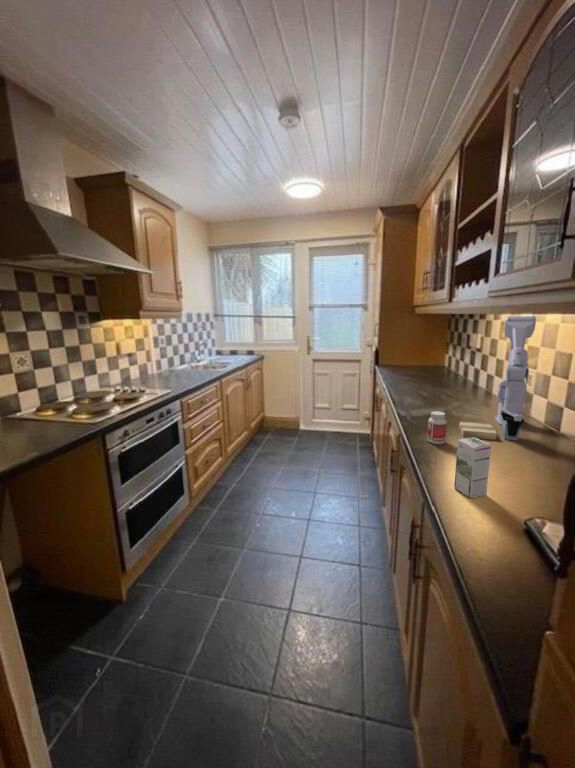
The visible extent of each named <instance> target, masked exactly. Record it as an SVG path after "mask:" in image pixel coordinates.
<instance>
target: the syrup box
mask: <svg viewBox="0 0 575 768" xmlns="http://www.w3.org/2000/svg"><path fill="white" fill-rule="evenodd" d="M456 446H457V447H456V459H455V473H454V485H453V486H454V487H455V488H456V489H458V490H459V491H461V492H462V493H464V494H465V495H467V496H468V497H476V496H480V497H483V496H482V495H484V496H487V491H488V481H489V470H490V463H491V462H490V460H491V452H492V444H491V443H489V442H487V441H484V440H481V439H480V438H475V437H463V438H460V439H457V445H456ZM455 488H454V489H455ZM456 489H455V490H456ZM458 490H457V491H458ZM459 491H458V492H459ZM461 492H460V493H461ZM462 493H461V494H462ZM464 494H463V495H464ZM465 495H464V496H465ZM467 496H466V497H467ZM468 497H467V498H468ZM476 498H477V497H476Z"/></svg>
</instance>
